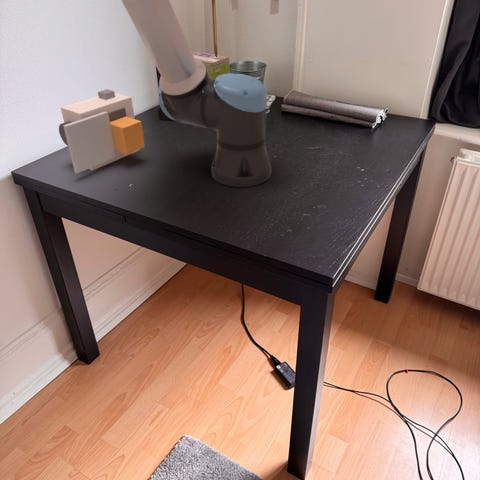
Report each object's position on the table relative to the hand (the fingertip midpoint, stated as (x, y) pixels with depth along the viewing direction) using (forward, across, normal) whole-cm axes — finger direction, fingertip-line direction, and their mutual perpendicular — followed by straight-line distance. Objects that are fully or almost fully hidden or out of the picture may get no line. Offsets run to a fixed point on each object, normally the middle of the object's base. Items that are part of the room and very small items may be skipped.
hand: (253, 11), depth 121 cm
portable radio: (+33, +28, +8) cm, 44 cm away
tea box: (+33, +32, -14) cm, 48 cm away
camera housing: (+33, +20, +41) cm, 56 cm away
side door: (+31, +12, +44) cm, 55 cm away
